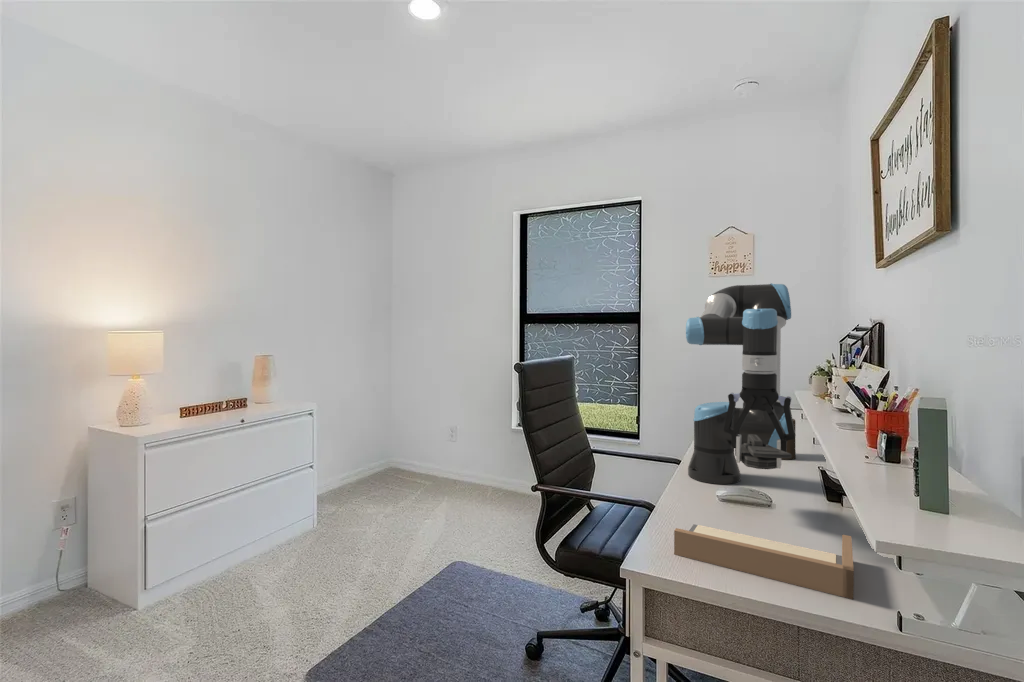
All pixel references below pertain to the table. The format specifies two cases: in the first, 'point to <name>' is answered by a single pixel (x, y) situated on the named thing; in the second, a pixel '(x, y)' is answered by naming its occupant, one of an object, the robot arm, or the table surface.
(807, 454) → the table surface
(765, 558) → the tray
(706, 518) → the table surface
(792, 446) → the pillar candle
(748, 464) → the zipper pull
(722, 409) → the robot arm
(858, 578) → the table surface
